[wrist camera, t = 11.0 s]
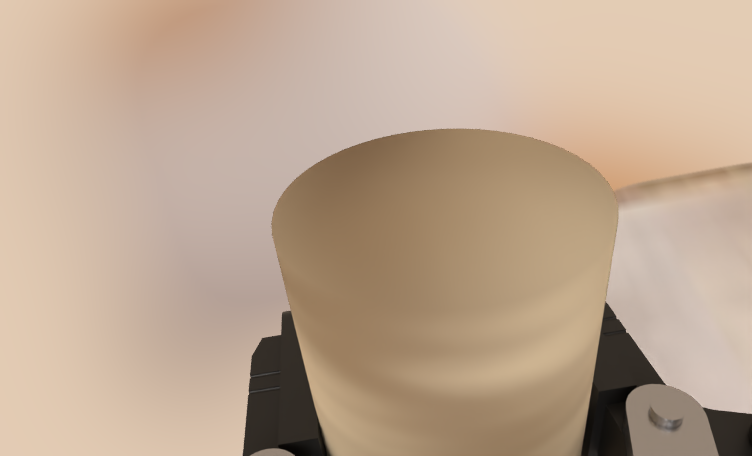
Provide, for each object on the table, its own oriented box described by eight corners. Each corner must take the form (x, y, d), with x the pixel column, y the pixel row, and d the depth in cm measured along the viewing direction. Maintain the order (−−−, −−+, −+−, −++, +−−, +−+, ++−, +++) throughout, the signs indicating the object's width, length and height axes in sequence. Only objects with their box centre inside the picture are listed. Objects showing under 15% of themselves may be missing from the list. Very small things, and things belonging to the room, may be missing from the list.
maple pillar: (517, 483, 17) (539, 113, 11) (589, 681, 13) (699, 271, 6) (356, 511, 17) (276, 151, 10) (375, 722, 13) (262, 341, 6)
